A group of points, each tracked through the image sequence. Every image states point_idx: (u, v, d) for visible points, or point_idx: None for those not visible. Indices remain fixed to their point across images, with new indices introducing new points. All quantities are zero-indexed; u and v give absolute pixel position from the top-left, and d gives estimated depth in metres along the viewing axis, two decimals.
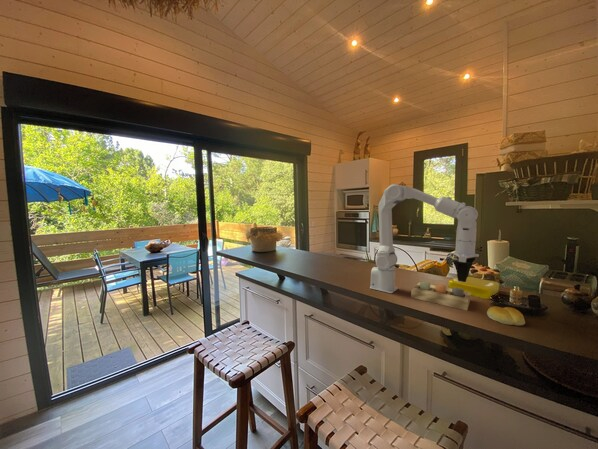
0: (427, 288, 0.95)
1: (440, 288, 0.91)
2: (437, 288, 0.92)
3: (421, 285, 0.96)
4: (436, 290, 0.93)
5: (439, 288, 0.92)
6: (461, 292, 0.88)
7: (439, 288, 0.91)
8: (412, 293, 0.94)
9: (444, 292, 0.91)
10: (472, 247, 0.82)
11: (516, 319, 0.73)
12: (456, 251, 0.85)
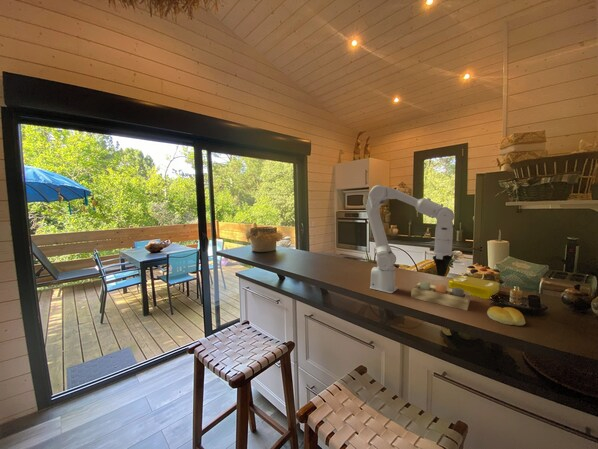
0: (427, 288, 0.95)
1: (440, 288, 0.91)
2: (437, 288, 0.92)
3: (421, 285, 0.96)
4: (436, 290, 0.93)
5: (439, 288, 0.92)
6: (461, 292, 0.88)
7: (439, 288, 0.91)
8: (412, 293, 0.94)
9: (444, 292, 0.91)
10: (449, 246, 0.89)
11: (516, 319, 0.73)
12: (435, 249, 0.92)
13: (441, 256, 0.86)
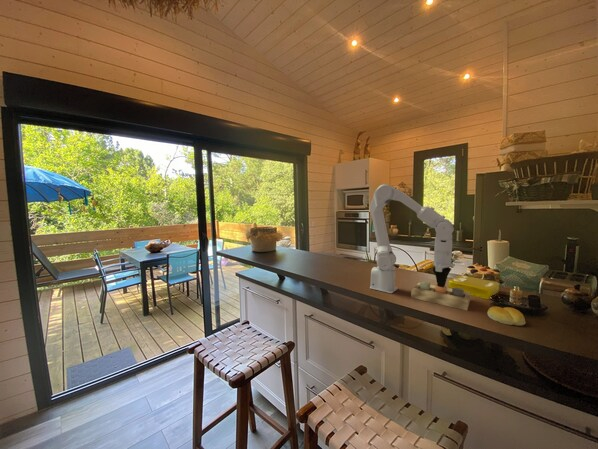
0: (427, 288, 0.95)
1: (440, 288, 0.91)
2: (437, 288, 0.92)
3: (421, 285, 0.96)
4: (436, 290, 0.93)
5: (439, 288, 0.92)
6: (461, 292, 0.88)
7: (439, 288, 0.91)
8: (412, 293, 0.94)
9: (444, 292, 0.91)
10: (448, 258, 0.89)
11: (516, 319, 0.73)
12: (434, 261, 0.92)
13: (440, 269, 0.86)
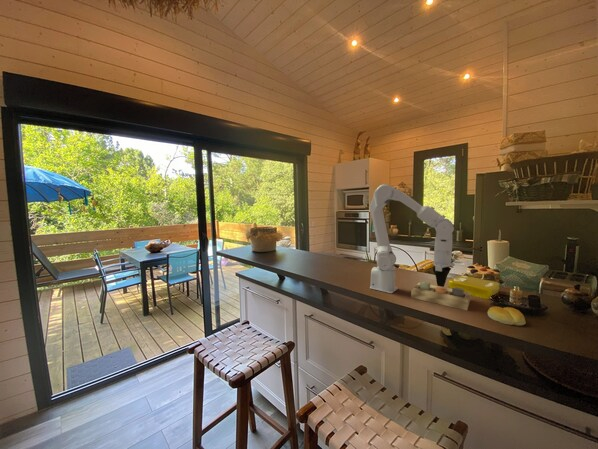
0: (427, 288, 0.95)
1: (440, 291, 0.91)
2: (437, 291, 0.92)
3: (421, 285, 0.96)
4: None
5: (439, 291, 0.92)
6: (461, 292, 0.88)
7: (439, 291, 0.92)
8: (412, 293, 0.94)
9: None
10: (448, 257, 0.89)
11: (516, 319, 0.73)
12: (434, 260, 0.92)
13: (440, 268, 0.86)
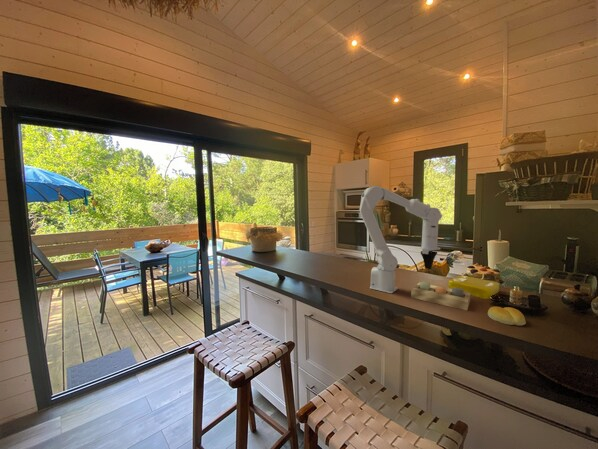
0: (427, 288, 0.95)
1: (440, 291, 0.91)
2: (437, 291, 0.92)
3: (421, 285, 0.96)
4: None
5: (439, 291, 0.92)
6: (461, 292, 0.88)
7: (439, 291, 0.92)
8: (412, 293, 0.94)
9: None
10: (434, 242, 0.98)
11: (517, 319, 0.73)
12: (422, 245, 1.01)
13: (427, 251, 0.95)
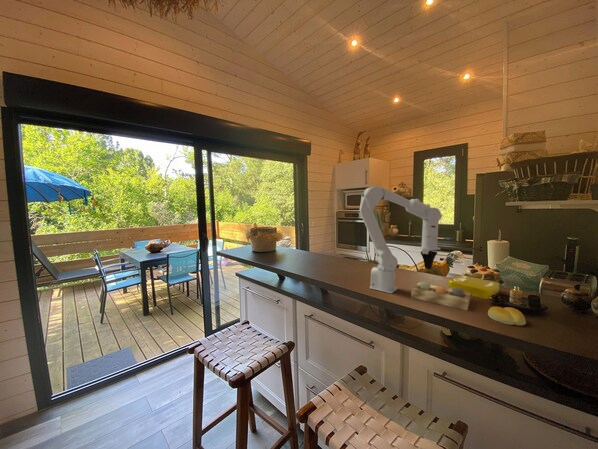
0: (427, 288, 0.95)
1: (440, 291, 0.91)
2: (437, 291, 0.92)
3: (421, 285, 0.96)
4: None
5: (439, 291, 0.92)
6: (461, 292, 0.88)
7: (439, 291, 0.92)
8: (412, 293, 0.94)
9: None
10: (434, 242, 0.98)
11: (517, 319, 0.73)
12: (422, 245, 1.01)
13: (427, 251, 0.95)
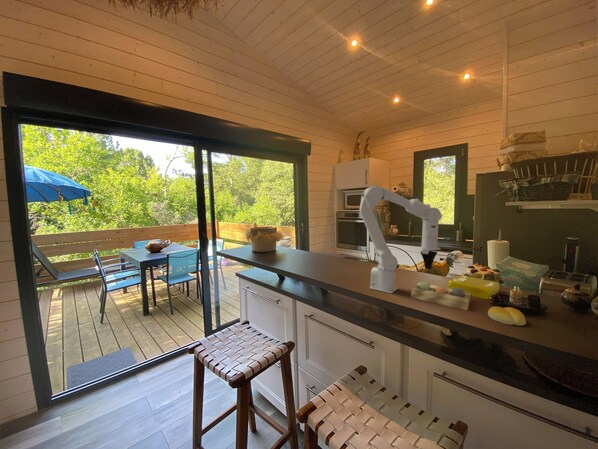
0: (427, 288, 0.95)
1: (440, 291, 0.91)
2: (437, 291, 0.92)
3: (421, 285, 0.96)
4: None
5: (439, 291, 0.92)
6: (461, 292, 0.88)
7: (439, 291, 0.92)
8: (412, 293, 0.94)
9: None
10: (434, 242, 0.98)
11: (517, 319, 0.73)
12: (422, 245, 1.01)
13: (427, 251, 0.95)
